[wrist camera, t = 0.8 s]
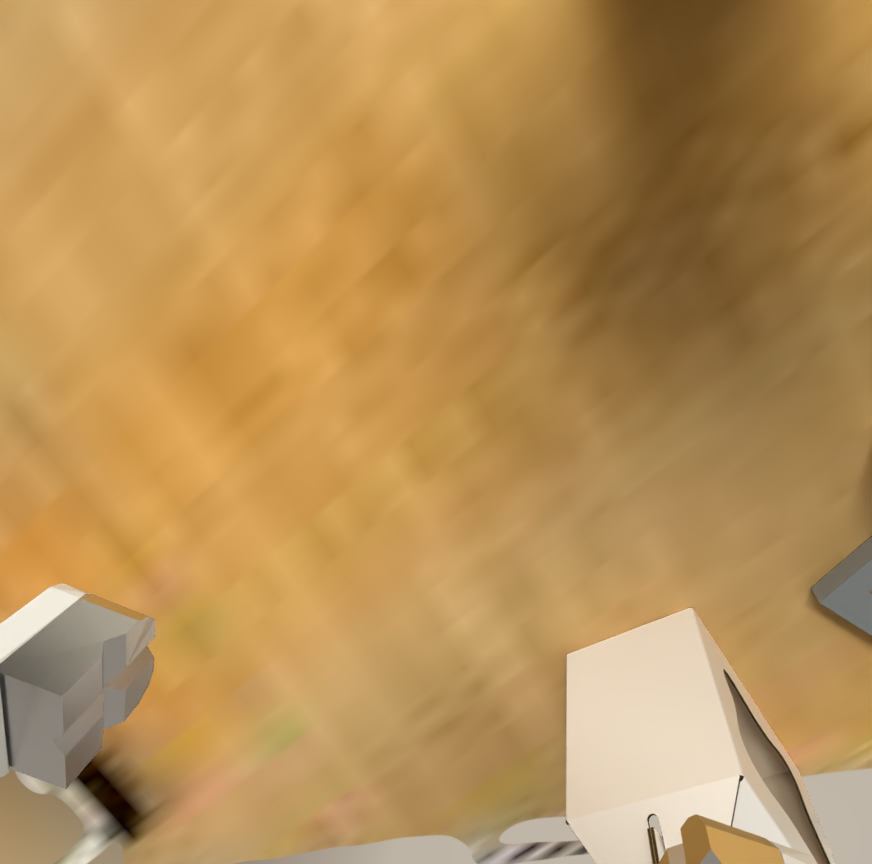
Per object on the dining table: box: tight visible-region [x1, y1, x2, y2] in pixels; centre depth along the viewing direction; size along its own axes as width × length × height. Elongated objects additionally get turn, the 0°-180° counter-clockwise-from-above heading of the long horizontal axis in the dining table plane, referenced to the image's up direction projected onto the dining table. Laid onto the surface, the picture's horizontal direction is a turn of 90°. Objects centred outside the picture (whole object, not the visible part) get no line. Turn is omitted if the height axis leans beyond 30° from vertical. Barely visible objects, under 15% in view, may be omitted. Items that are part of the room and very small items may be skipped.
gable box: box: [566, 608, 836, 864], centre depth 45 cm, size 22×13×28 cm, turn 36°
